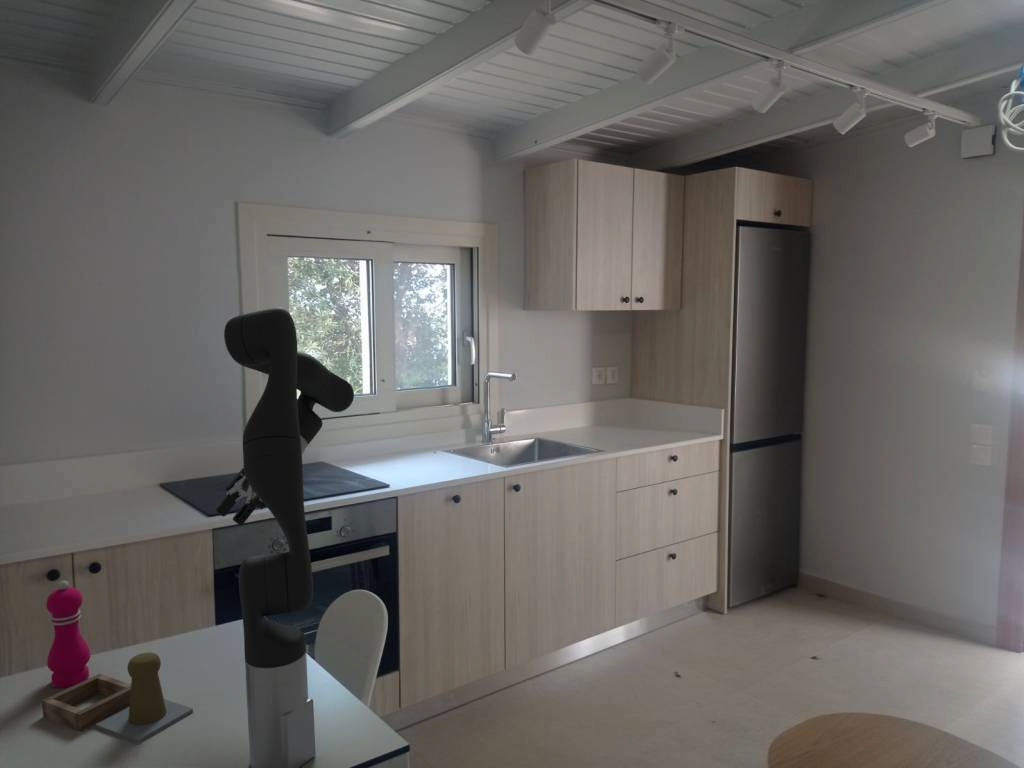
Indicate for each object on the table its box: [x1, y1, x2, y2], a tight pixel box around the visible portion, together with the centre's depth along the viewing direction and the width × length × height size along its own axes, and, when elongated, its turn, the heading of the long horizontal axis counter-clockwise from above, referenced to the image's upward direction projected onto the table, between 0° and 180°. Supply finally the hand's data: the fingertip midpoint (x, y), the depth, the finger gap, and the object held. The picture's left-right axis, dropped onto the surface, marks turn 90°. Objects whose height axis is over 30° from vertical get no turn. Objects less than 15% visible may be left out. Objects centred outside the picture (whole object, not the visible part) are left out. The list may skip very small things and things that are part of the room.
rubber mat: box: [95, 698, 194, 745], centre depth 132 cm, size 11×11×1 cm
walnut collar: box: [41, 673, 131, 732], centre depth 135 cm, size 11×11×3 cm
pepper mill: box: [45, 580, 91, 689], centre depth 145 cm, size 7×7×20 cm
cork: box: [127, 652, 167, 725], centre depth 131 cm, size 6×6×11 cm
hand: (227, 518), depth 147 cm, fingers open, 8 cm apart
